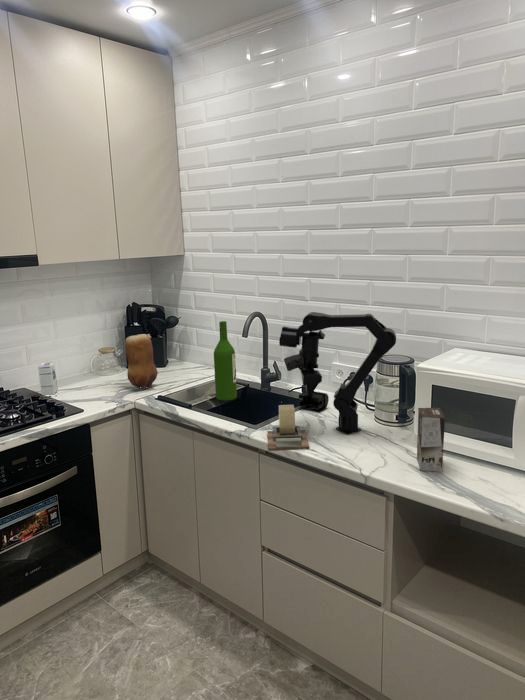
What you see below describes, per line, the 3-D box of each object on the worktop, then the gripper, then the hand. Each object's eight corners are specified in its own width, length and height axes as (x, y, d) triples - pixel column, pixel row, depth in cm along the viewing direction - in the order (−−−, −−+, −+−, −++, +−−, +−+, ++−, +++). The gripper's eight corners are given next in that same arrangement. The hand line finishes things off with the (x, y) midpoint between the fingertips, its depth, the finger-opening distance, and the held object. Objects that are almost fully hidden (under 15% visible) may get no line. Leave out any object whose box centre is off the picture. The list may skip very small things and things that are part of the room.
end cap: (328, 408, 208) (328, 391, 206) (320, 413, 202) (320, 396, 201) (306, 404, 213) (306, 388, 212) (297, 409, 208) (297, 392, 206)
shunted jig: (267, 433, 183) (267, 425, 183) (305, 432, 183) (305, 424, 183) (268, 450, 169) (268, 442, 168) (309, 448, 169) (309, 440, 168)
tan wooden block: (279, 433, 181) (278, 405, 179) (294, 432, 181) (293, 404, 179) (280, 438, 176) (279, 409, 174) (295, 438, 176) (294, 409, 174)
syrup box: (55, 396, 234) (51, 365, 231) (41, 397, 233) (37, 365, 230) (58, 393, 240) (54, 362, 237) (44, 394, 239) (40, 362, 236)
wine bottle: (237, 400, 221) (233, 323, 214) (215, 401, 221) (211, 323, 214) (236, 393, 230) (233, 319, 223) (216, 394, 229) (212, 320, 223)
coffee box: (443, 472, 150) (445, 417, 146) (419, 471, 151) (421, 417, 148) (438, 458, 159) (440, 407, 155) (416, 457, 160) (417, 406, 156)
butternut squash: (132, 384, 250) (127, 332, 245) (160, 383, 251) (156, 331, 246) (125, 392, 237) (120, 337, 232) (155, 391, 237) (151, 336, 232)
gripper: (283, 339, 189) (280, 379, 195) (290, 359, 172) (287, 402, 177) (313, 340, 190) (310, 379, 196) (323, 359, 173) (320, 402, 178)
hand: (306, 390), depth 187 cm, fingers open, 9 cm apart
